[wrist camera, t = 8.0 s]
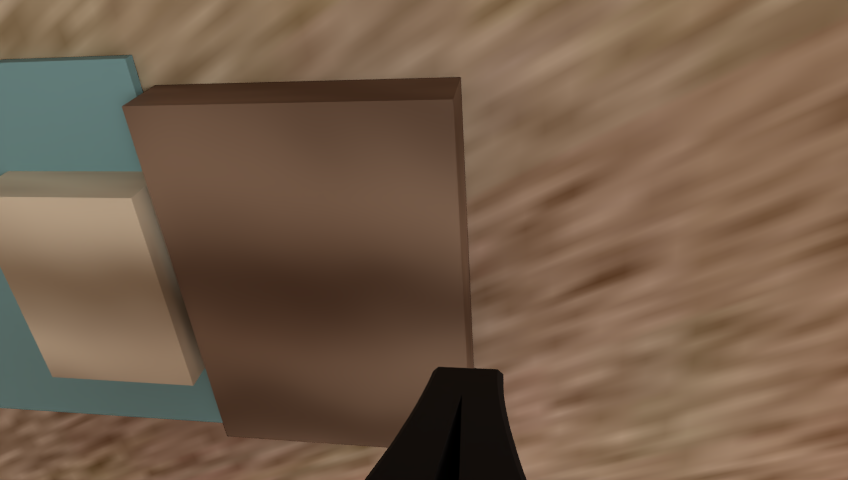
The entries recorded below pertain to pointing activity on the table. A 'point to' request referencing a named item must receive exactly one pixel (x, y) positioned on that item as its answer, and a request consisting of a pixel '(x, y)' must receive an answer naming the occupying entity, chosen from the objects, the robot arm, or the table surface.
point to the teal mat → (74, 151)
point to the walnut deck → (314, 245)
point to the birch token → (95, 277)
